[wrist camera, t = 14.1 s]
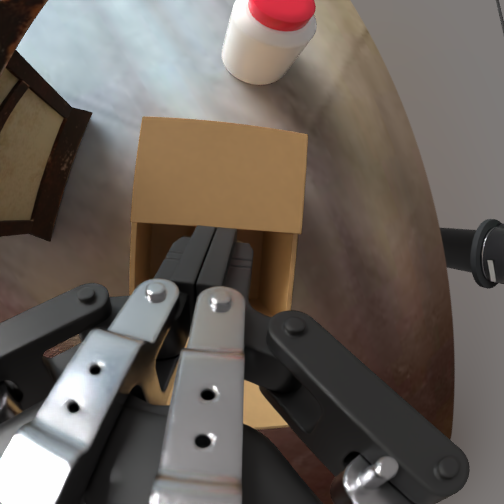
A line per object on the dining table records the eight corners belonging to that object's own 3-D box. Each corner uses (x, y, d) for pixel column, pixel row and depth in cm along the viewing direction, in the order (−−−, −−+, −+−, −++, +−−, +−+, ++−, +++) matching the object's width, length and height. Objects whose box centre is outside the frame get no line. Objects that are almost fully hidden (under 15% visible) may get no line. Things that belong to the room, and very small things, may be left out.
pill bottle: (281, 94, 30) (321, 46, 20) (212, 73, 29) (225, 15, 18) (295, 42, 30) (332, -10, 19) (231, 23, 28) (250, -38, 18)
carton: (260, 301, 32) (291, 335, 22) (145, 296, 30) (127, 330, 20) (272, 158, 31) (309, 133, 21) (156, 148, 29) (142, 115, 19)
